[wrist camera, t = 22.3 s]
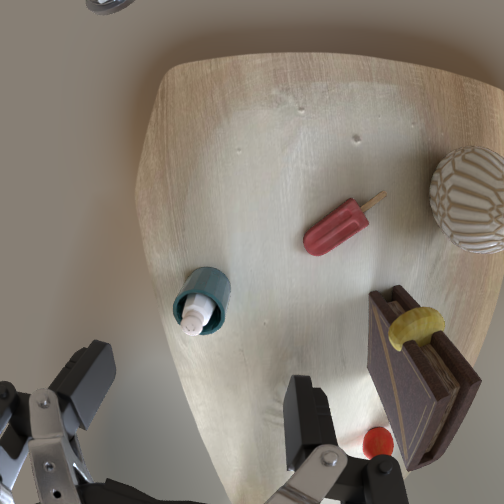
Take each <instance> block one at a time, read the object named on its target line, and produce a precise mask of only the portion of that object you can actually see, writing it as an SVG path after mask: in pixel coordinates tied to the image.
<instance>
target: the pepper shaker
mask: <svg viewBox="0 0 504 504" xmlns="http://www.w3.org/2000/svg"><path fill="white" fill-rule="evenodd" d="M216 306H217V303H216V302H215V301H214V300H213V299H212V298H211V297H209V296H207V295H205V294H203V293H190V294H188V296H187V299H186V303H185V306H184V310H183V314H182V317H183V319H182V321H181V324H180V325H181V329H182V330H183V331H184V332H185V333H186V334H188V335H192V336H194V335H198V334H200V333H201V331H202V328H203V326H204V325H206V324H207V323H208V321H209V319H210V317H211V315H212V313H213V312H214V310H215V308H216Z"/></svg>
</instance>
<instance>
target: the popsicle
mask: <svg viewBox="0 0 504 504" xmlns="http://www.w3.org/2000/svg"><path fill="white" fill-rule="evenodd" d="M386 195H387V192H386V191H382V192H380V193H379V194H378V195H376V196H375V197H374V198H372V199H371V200H369V201H368V202H367V203H365V204H364V205H363V206H361V207H359V205H358V204H357V202H356V201H355V199H353V198H350V199H348V200H347V201H346V202H344V203H343V204H342V205H340V206H339V207H338V208H337V209H335V210H334V211H333V212H331V213H330V214H329V215H327V216H326V217H325V218H323V219H322V220H321V221H319V222H318V223H317V224H315V225H314V226H313V227H311V228H310V229H309V230H308V231H307V232H306V233H305V235H304V238H303V243H304V247H305V249H306V251H307V252H308V253H310V254H311V255H314V256H321V255H324V254H326V253H327V252H329V251H330V250H332V249H333V248H335V247H337V246H338V245H340V244H341V243H343V242H344V241H346V240H347V239H349V238H350V237H351V236H353V235H354V234H356V233H357V232H359V231H360V230H362V229H363V228H365V227H366V226H368V225H369V222H368V220H367V218H366V217H365V215H364V212H365V211H367V210H368V209H369V208H371V207H372V206H374V205H375V204H376V203H378V202H379V201H380V200H382V199H383V198H384V197H386Z"/></svg>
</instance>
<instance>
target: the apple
mask: <svg viewBox="0 0 504 504" xmlns="http://www.w3.org/2000/svg"><path fill="white" fill-rule="evenodd" d="M393 448H394V443H393V438H392V436H391V433H390V432H389V431H388V430H387V429H385V428H383V427H377V428H374V429H371V430H370V431H368V432H367V434H366V435H365V437H364V441H363V452H364V455H365V456H366V457H367V458H369V459H370V460H371V459H372V458H373V457H374V456H376V455H380V454H386V455H390V456H391V454H392V452H393Z"/></svg>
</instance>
